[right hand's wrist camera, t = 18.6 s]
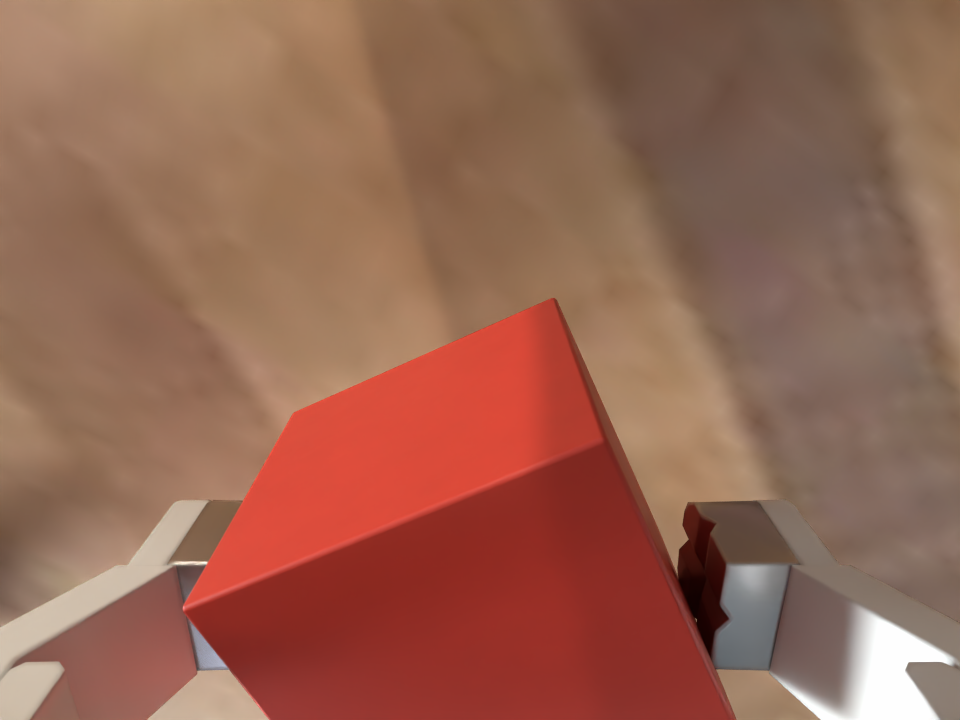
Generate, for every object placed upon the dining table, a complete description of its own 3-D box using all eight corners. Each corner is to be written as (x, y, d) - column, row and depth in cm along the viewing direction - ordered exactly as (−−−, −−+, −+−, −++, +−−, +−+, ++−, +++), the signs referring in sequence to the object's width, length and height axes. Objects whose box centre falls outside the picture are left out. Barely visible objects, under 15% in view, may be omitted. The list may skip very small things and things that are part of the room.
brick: (554, 295, 11) (607, 436, 7) (659, 530, 13) (757, 769, 8) (291, 411, 12) (177, 610, 7) (422, 618, 14) (394, 882, 9)
